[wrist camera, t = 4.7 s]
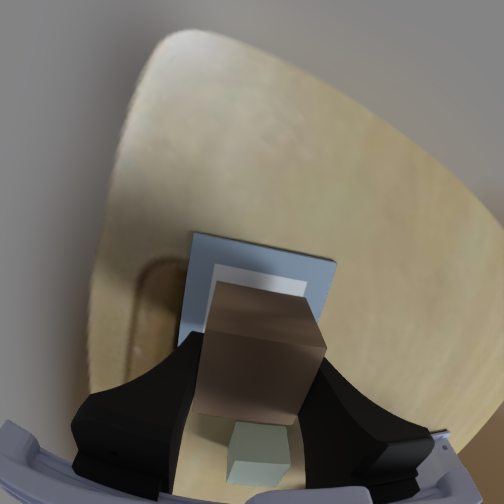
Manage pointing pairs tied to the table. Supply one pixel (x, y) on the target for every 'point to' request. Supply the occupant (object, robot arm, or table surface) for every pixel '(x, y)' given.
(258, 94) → the table surface
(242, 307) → the walnut cube
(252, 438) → the sage cube
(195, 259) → the pad
